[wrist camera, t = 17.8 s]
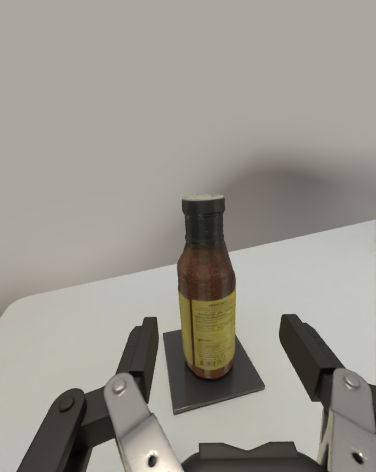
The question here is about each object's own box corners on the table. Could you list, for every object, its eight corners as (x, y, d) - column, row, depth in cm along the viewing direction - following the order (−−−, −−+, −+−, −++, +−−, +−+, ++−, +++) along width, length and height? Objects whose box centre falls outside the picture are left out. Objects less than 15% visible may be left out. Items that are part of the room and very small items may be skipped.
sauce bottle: (242, 352, 25) (255, 194, 18) (217, 395, 20) (223, 204, 14) (200, 329, 29) (198, 191, 22) (171, 360, 24) (158, 198, 18)
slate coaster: (173, 414, 19) (173, 411, 19) (163, 335, 28) (162, 332, 28) (264, 388, 21) (265, 385, 21) (227, 322, 30) (227, 320, 30)
